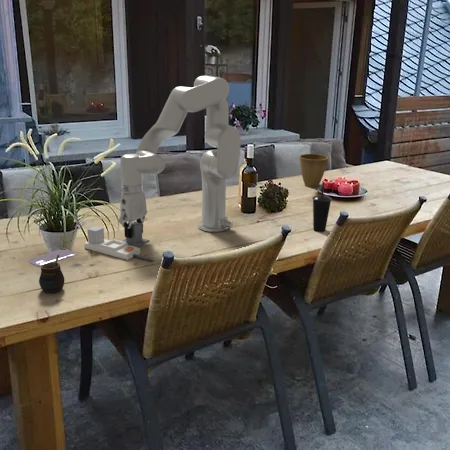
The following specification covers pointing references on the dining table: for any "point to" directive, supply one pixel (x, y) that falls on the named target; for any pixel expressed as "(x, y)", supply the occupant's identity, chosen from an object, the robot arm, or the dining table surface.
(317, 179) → the plant pot
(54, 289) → the mate gourd
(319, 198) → the drinking cup
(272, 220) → the dining table surface
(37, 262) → the mobile phone
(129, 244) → the mat
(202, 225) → the robot arm
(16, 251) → the dining table surface
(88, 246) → the power strip
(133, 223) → the block
